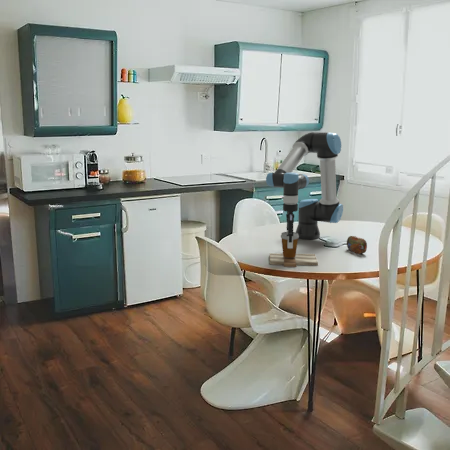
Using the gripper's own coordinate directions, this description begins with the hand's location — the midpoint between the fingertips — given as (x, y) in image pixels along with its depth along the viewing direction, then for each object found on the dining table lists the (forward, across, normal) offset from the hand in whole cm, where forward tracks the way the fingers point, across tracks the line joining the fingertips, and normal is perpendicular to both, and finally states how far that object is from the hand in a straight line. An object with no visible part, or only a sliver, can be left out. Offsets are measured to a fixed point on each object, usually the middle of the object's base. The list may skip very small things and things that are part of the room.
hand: (289, 245), depth 282 cm
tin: (+8, -19, +38) cm, 43 cm away
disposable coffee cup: (+6, 0, 0) cm, 6 cm away
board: (+8, 0, +2) cm, 8 cm away
